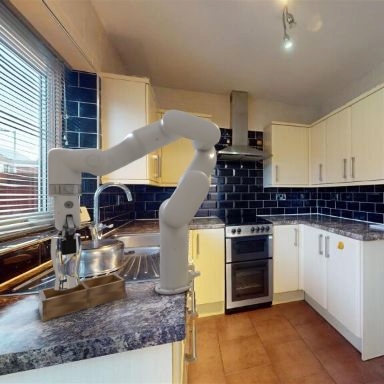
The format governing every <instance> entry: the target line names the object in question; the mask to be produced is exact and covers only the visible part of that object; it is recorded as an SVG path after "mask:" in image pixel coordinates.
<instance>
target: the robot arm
mask: <svg viewBox="0 0 384 384" xmlns="http://www.w3.org/2000/svg"><path fill="white" fill-rule="evenodd" d="M221 133H222V132H221V129H220V127H219V126H218V125H217V124H216V123H215V122H213V121H212V120H209V119H206V118H203V117H201V116H198V115H195V114H191V113H189V112H187V111H183V110H178V109H168V110H167V111H165V112H164V113H163V115H162V117H161V119H158V120H156V121H153V122H150V123H148V124H146V125H144V126H141V127H139V128H137V129H134V130H132V131H131V132H129V134H127V135H126V136H125V137H124V139H122V140H121V141H120V142H119V143H117V144H116V145H113V146H111V147H110V148H109V147H108V148H106V149H104V150H102V149H100V148H79V149H72V148H68V147H67V148H66V147H54V148H51V149H49V150H48V152H47V182H48V183H47V184H48V189H47V190H48V192H47V193H48V197H53V216H54V217H53V218H54V228H55V229H56V230H57V236H58V235H62V236H63V241H61V243H62V255H68V254H74V253H76V252H77V247H76V234H77V233H76V230H81V228H82V220H81V205H80V198H79V197H82V196H83V195H82V194H83V190H82V189H83V187H82V184H83V183H82V173H86V174H91V175H92V176H95V177H103V176H107V175H109V174H112V173H114V172H115V171H117V170H120V169H122V168H125V167H127V166H128V165H130V164H132V163H133V162H136V161H137V160H140V159H142V158H144V157H146V156H147V155H150V154H151V153H153V152H155V151H158V150H160V149H161V148H164V147H167V146H168V145H170V144H172V143H174V142H177V141H179V140H180V139H182V138H184V139H188V140H190V142H191V145H192V147H193V150H194V156H193V158H192V160H191V162H190V163H189V164H188V166H187V168H186V169H185V171H184V172H183V174H182V175H181V176H180V177H179V179H178V181H177V184H176V188H175V190H174V192H172V194H171V196H170V198H167V199H165V200H163V202H162V203H161V204H160V206H159V209H158V224H159V282H157V284H155V286H154V291H155V293H157V294H159V295H176V294H181V293H184V292H187V291H189V290H191V289H192V288H193V286H194V281H193V280H194V278H197V277H200V276H201V271H200V270H197V271H193V270H191V271H189V227H188V226H189V225H188V224H190V223H191V221H192V220H193V218H195V216H196V215H197V212H198V211H199V209H200V207H201V206H202V204H203V202H204V201H205V199H206V197H207V196H208V194H209V192H210V187H211V181H210V179H209V178H210V177H211V176H212V173H213V172H214V170H215V168H216V165H217V160H218V159H217V157H218V156H217V151H216V147H215V145H217V144H218V143H219V142H220V140H221V136H222V134H221Z"/></svg>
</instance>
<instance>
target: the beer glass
mask: <svg viewBox="0 0 384 384" xmlns="http://www.w3.org/2000/svg"><path fill="white" fill-rule="evenodd" d="M75 234H76V247H77V252H76V253H74V254H68V255H62V243H61V241H63V236H62V235H58V234H57V235H53V236H51V241H50V259H51V264H52V268H53V271H54V275H55V276H54V285H53V287H54V291H65V290H70V289H73V288H76V287H78V286H79V285H80V284H81V282H80V281H81V280H80V273H79V272H80V265H81V260H82V251H83V247H82V244H83V243H82V236H81V233H75Z"/></svg>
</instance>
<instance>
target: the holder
mask: <svg viewBox="0 0 384 384" xmlns="http://www.w3.org/2000/svg"><path fill="white" fill-rule="evenodd" d="M80 282H81V284H80V285H79V286H78V287H76V288H73V289H70V290H65V291H54V286H53V287H48V288H43V289H39V290H38V313H39V315H40V319H41V322H42V323H43V322H47V321H50V320H53V319H57V318H60V317H64V316H67V315H69V314H74V313H77V312H80V311H83V310H87V309H90V308H94V307H97V306H99V305H104V304H107V303H110V302H113V301H117V300H119V299H124V298H126V279H124V278H123V277H122V276H120V275H118V274H117V273H116V272H114V273H110V274H105V275H101V276H96V277H91V278H88V279H83V280H80Z"/></svg>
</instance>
